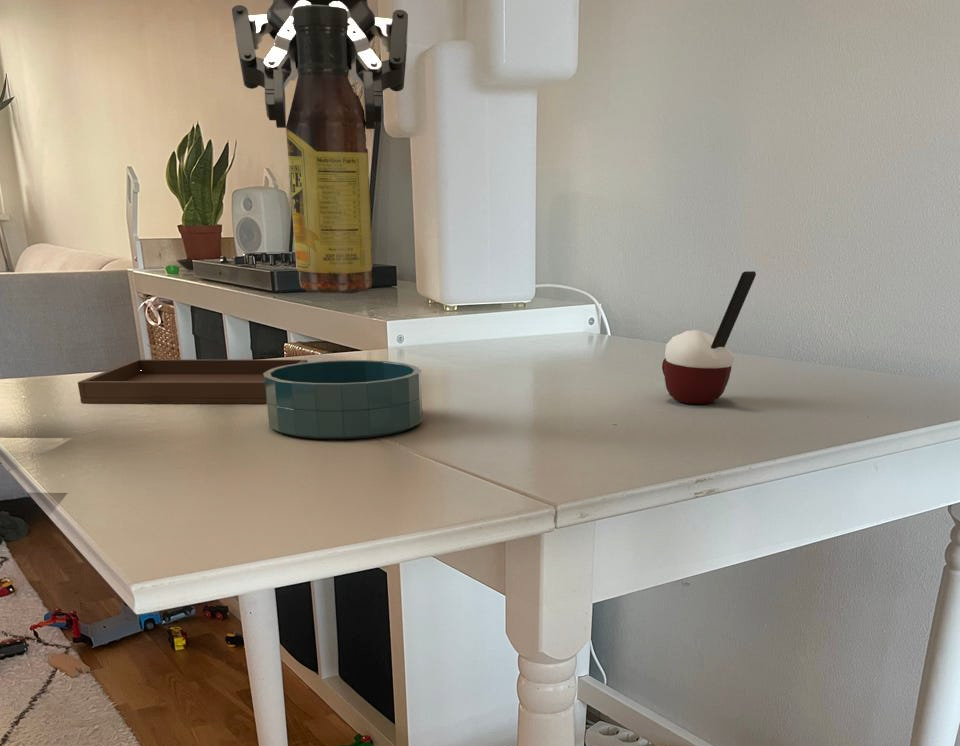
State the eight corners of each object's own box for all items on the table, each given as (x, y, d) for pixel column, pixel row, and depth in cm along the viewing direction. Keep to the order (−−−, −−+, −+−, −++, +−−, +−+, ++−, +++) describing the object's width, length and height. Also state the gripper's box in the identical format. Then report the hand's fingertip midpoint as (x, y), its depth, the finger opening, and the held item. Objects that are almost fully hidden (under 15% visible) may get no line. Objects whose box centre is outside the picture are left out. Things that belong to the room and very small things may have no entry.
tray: (80, 403, 94) (77, 382, 93) (138, 377, 108) (135, 359, 107) (276, 403, 93) (274, 382, 93) (309, 378, 107) (307, 359, 106)
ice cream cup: (648, 394, 97) (657, 266, 92) (708, 392, 98) (719, 265, 93) (683, 413, 88) (694, 272, 83) (748, 410, 89) (763, 271, 84)
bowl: (251, 440, 79) (245, 384, 77) (288, 409, 91) (283, 359, 89) (413, 441, 78) (411, 384, 76) (428, 409, 90) (427, 360, 88)
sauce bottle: (306, 288, 83) (288, 16, 75) (378, 288, 83) (368, 16, 75) (289, 295, 77) (267, 0, 69) (367, 295, 77) (355, 0, 69)
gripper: (221, -85, 75) (221, 73, 69) (407, -79, 77) (422, 76, 71) (235, 8, 82) (236, 159, 76) (405, 12, 84) (418, 160, 78)
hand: (325, 118), depth 74 cm, fingers closed on sauce bottle, 6 cm apart
